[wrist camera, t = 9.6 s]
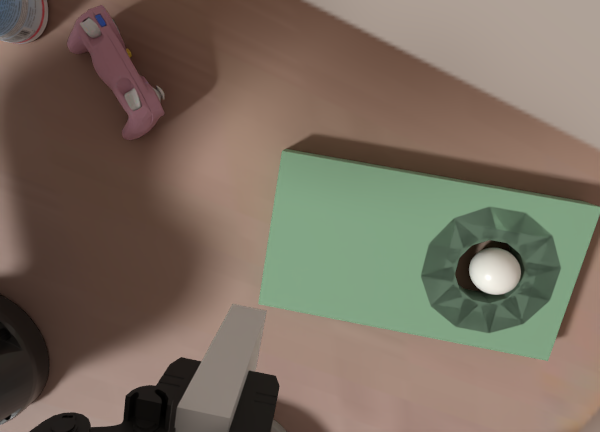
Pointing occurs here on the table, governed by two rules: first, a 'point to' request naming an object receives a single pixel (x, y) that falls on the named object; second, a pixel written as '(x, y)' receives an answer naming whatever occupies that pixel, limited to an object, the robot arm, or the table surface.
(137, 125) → the video game controller
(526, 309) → the mat
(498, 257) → the ball
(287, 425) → the table surface
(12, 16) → the pill bottle
